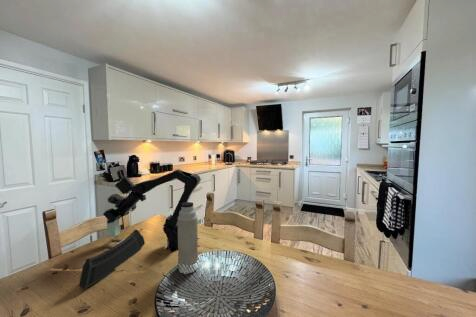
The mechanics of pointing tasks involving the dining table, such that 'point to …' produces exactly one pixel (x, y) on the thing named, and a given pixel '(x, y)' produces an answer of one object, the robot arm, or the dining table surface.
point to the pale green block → (113, 229)
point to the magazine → (110, 259)
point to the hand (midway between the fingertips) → (110, 221)
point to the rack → (110, 242)
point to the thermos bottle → (187, 235)
